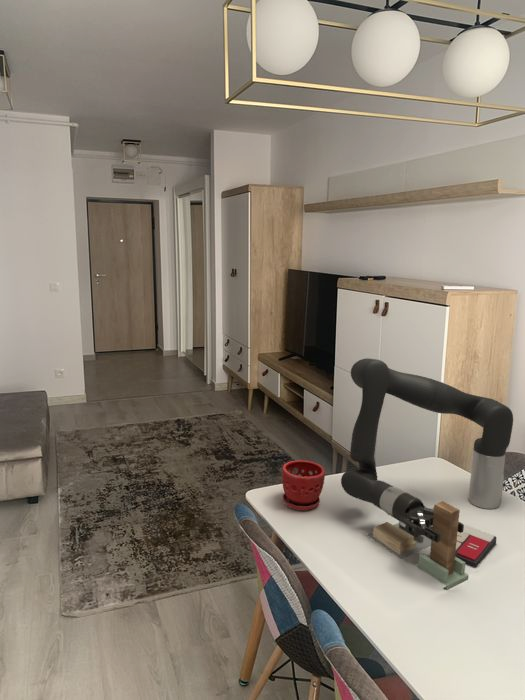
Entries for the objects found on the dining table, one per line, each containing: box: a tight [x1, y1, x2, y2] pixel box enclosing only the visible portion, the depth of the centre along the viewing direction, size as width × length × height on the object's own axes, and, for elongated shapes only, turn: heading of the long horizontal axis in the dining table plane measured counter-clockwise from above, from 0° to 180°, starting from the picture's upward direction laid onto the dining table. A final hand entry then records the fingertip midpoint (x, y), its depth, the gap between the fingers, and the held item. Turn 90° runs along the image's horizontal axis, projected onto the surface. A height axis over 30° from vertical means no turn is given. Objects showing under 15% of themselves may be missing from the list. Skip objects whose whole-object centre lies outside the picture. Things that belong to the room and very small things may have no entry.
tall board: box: [429, 500, 460, 575], centre depth 133 cm, size 3×5×17 cm, turn 32°
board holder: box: [414, 553, 469, 591], centre depth 134 cm, size 8×10×4 cm
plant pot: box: [281, 459, 326, 511], centre depth 168 cm, size 13×13×12 cm
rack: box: [366, 521, 433, 559], centre depth 148 cm, size 16×13×4 cm
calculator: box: [455, 523, 497, 569], centre depth 144 cm, size 11×4×15 cm
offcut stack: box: [372, 521, 416, 554], centre depth 146 cm, size 6×10×3 cm, turn 32°
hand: (451, 533), depth 131 cm, fingers open, 8 cm apart
